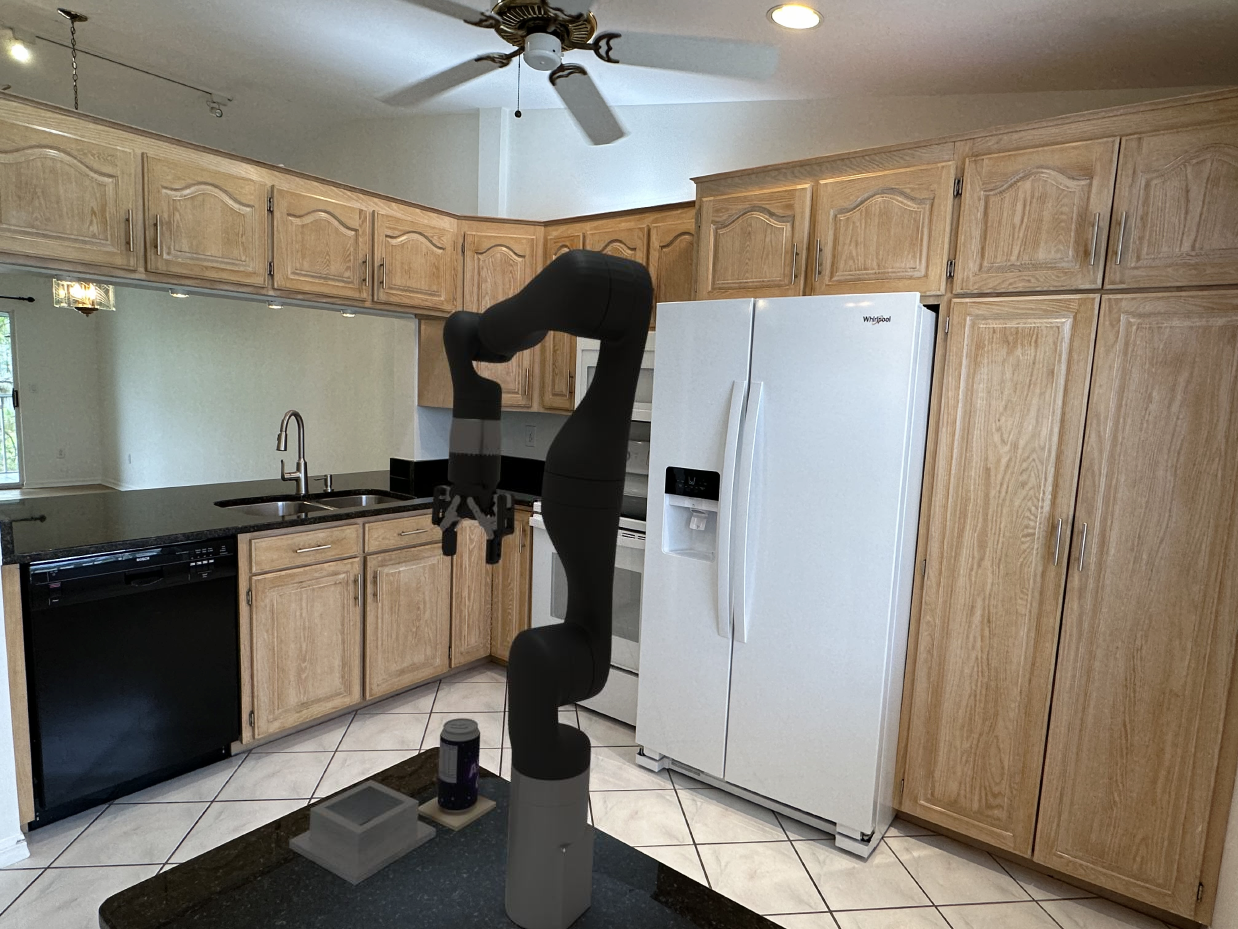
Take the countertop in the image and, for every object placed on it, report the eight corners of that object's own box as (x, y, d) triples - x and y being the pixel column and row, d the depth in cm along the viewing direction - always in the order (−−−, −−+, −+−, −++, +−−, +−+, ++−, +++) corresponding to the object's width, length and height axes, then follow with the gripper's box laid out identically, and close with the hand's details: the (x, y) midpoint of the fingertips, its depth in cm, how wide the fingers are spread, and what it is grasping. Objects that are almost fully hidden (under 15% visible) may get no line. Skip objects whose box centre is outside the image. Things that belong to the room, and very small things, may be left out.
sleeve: (435, 836, 96) (436, 800, 96) (355, 885, 85) (356, 845, 85) (371, 805, 103) (372, 771, 103) (289, 847, 92) (290, 810, 92)
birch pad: (495, 806, 104) (496, 802, 104) (456, 831, 98) (457, 827, 98) (456, 790, 109) (456, 786, 109) (416, 812, 102) (416, 808, 102)
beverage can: (472, 817, 100) (476, 734, 100) (432, 815, 100) (435, 732, 100) (480, 796, 106) (484, 718, 105) (442, 794, 106) (445, 716, 105)
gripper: (529, 453, 104) (524, 563, 104) (458, 447, 111) (453, 550, 112) (495, 453, 97) (489, 571, 98) (421, 447, 105) (417, 556, 105)
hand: (470, 559), depth 105 cm, fingers open, 8 cm apart
